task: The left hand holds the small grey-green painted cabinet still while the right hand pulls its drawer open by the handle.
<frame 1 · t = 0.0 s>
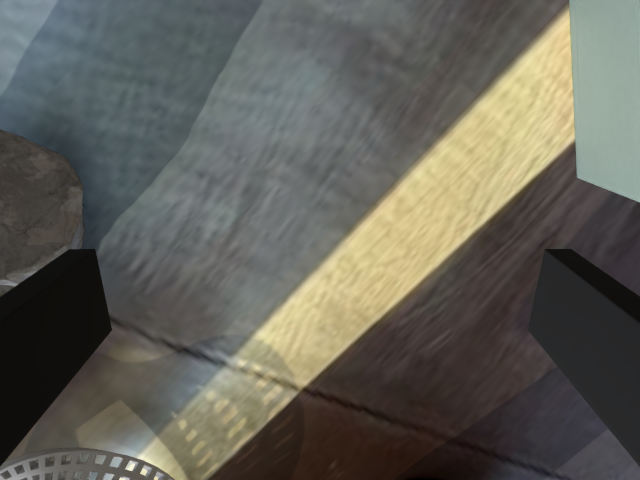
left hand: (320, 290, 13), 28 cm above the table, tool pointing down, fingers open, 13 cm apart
cabinet: (634, 70, 36), on the table
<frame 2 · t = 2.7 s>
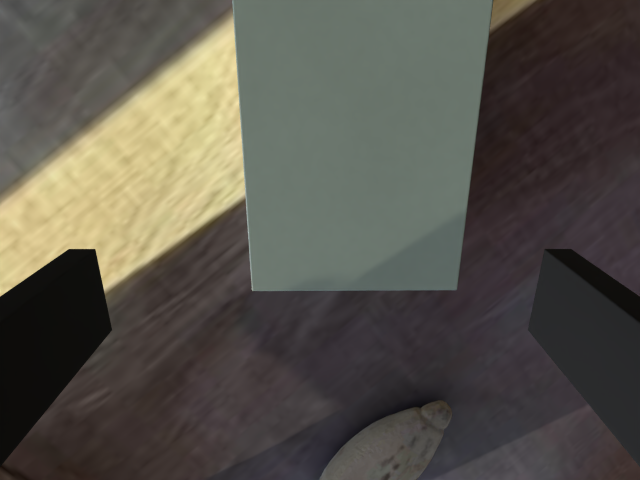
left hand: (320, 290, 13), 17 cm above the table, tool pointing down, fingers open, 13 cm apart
cabinet: (346, 106, 27), on the table
decorative stone: (377, 446, 37), on the table
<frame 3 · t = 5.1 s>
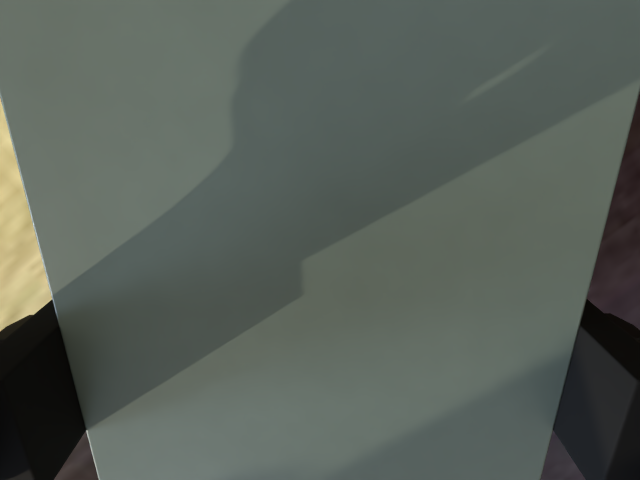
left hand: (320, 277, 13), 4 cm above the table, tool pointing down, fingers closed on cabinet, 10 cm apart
cabinet: (319, 114, 16), on the table, touching left hand
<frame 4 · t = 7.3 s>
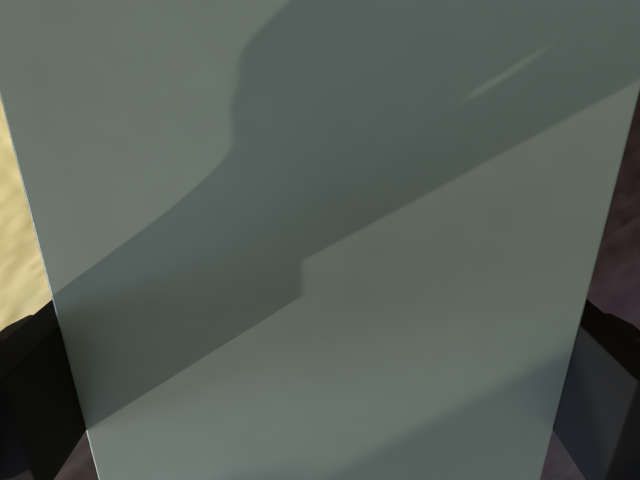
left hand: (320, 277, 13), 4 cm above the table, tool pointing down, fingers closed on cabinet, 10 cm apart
cabinet: (319, 114, 16), on the table, touching left hand
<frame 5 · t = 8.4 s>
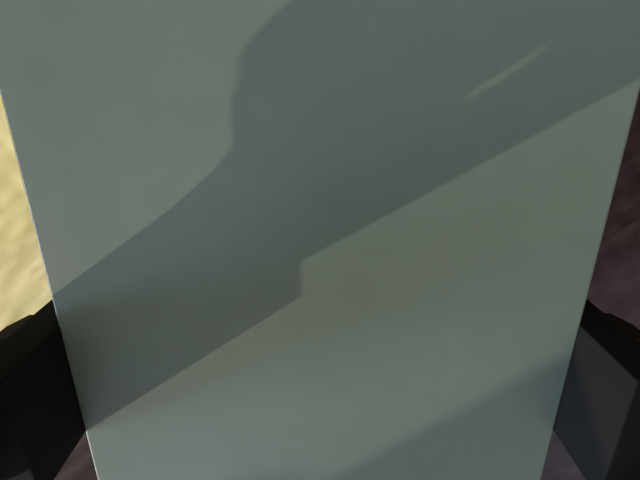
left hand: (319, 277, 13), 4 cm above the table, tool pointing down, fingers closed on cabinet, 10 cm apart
cabinet: (319, 115, 16), on the table, touching left hand
when the left hand's fingers open (4 cm above the table, at t = 10.3 s): cabinet stays where it is, on the table.
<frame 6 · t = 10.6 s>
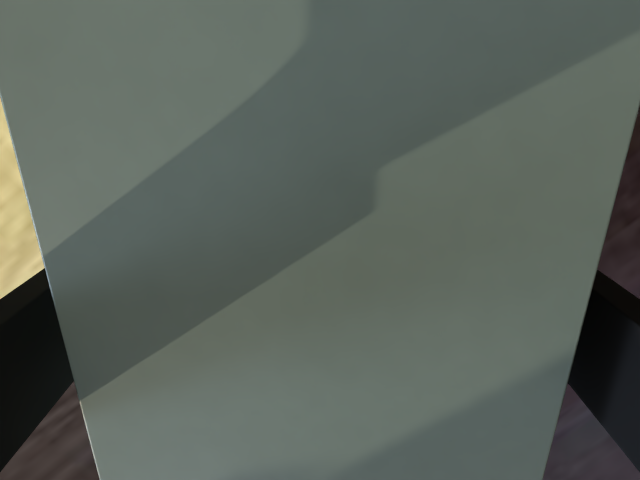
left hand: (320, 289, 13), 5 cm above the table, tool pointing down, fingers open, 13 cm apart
cabinet: (320, 103, 15), on the table
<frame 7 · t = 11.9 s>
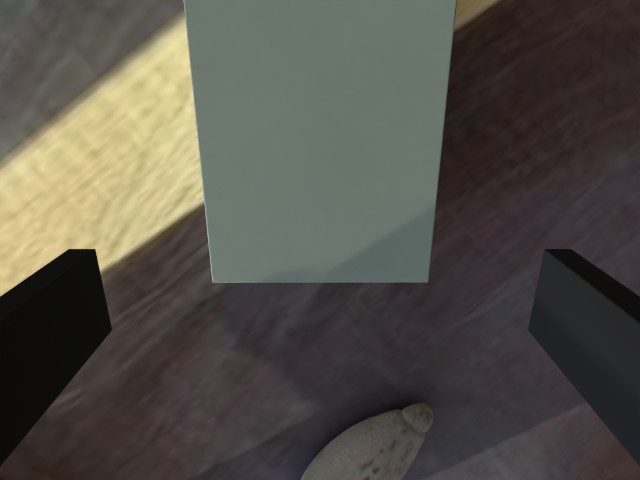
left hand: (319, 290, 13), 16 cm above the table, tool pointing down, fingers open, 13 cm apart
cabinet: (320, 92, 26), on the table
decorative stone: (358, 449, 36), on the table
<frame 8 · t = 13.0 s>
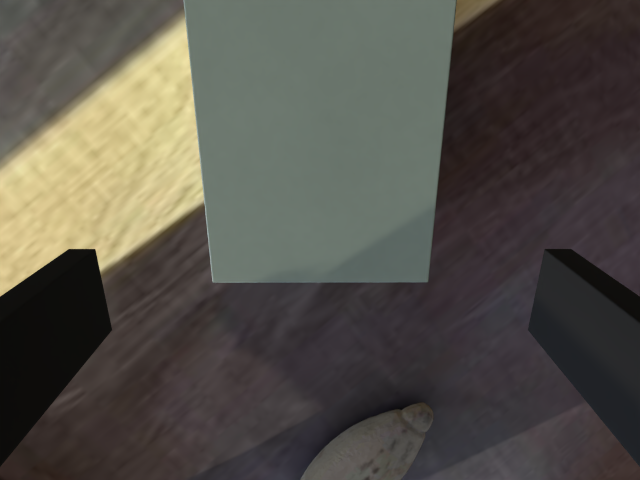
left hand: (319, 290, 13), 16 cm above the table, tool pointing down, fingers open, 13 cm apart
cabinet: (320, 92, 26), on the table
decorative stone: (358, 448, 36), on the table
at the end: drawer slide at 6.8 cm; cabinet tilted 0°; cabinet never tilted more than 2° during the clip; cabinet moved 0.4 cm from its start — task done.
